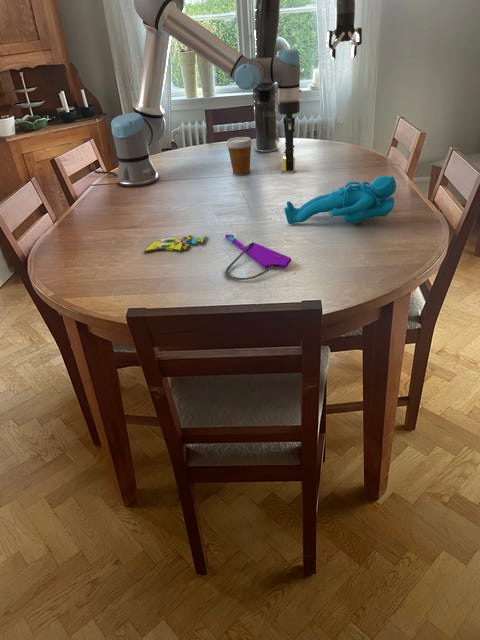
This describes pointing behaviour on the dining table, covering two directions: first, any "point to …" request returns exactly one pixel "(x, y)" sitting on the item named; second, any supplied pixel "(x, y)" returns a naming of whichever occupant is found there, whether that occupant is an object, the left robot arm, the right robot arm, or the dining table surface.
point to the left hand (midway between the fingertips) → (289, 168)
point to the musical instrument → (259, 257)
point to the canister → (285, 163)
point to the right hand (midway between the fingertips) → (343, 58)
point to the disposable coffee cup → (240, 154)
